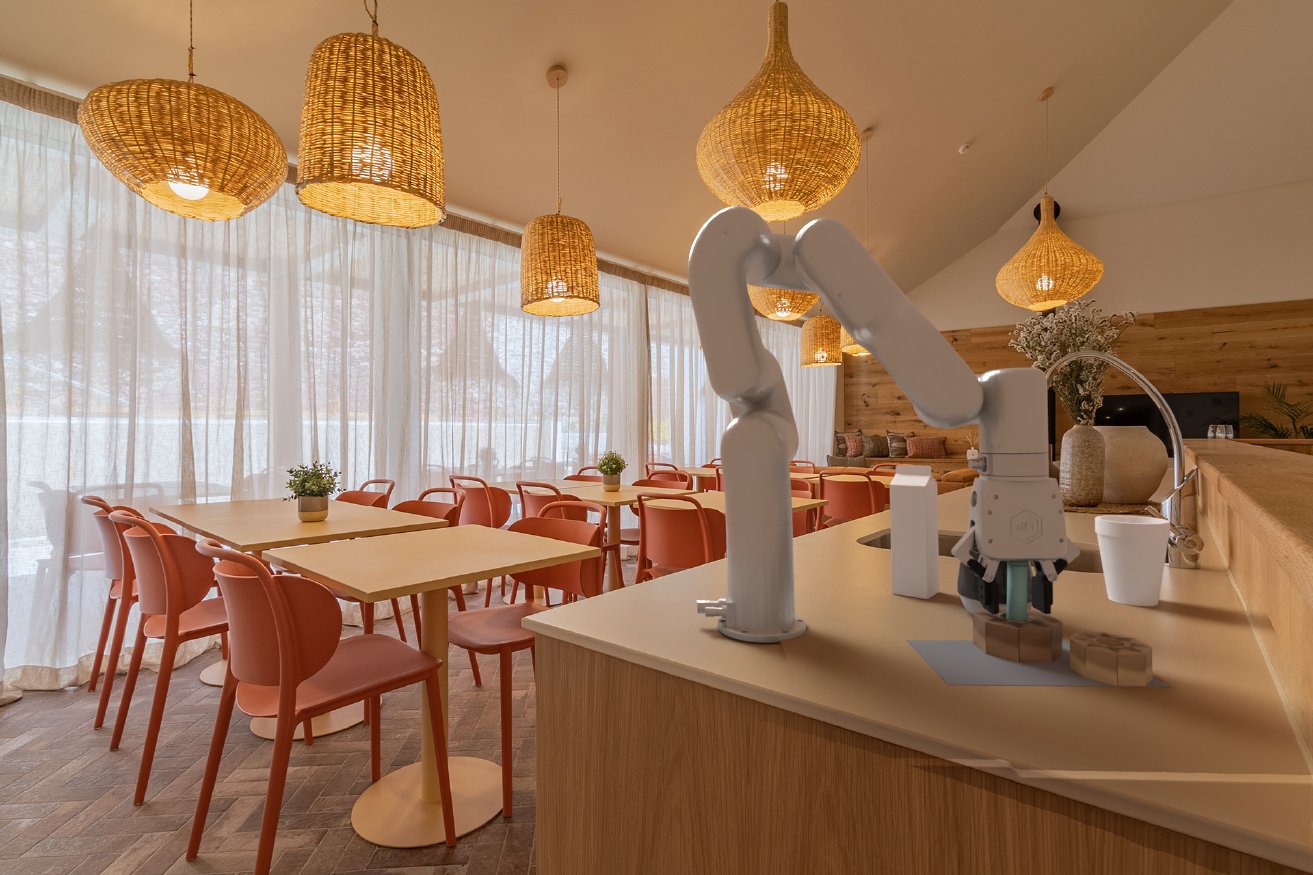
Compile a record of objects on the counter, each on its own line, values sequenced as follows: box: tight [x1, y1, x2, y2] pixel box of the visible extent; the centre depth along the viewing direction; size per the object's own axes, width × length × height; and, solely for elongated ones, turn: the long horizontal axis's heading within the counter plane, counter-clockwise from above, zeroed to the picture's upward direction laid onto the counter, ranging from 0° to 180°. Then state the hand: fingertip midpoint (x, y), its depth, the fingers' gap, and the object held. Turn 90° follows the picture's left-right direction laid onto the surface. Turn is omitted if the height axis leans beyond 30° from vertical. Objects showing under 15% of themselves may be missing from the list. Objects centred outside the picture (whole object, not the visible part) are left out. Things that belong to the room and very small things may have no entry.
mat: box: [906, 639, 1172, 688], centre depth 73 cm, size 23×14×1 cm, turn 85°
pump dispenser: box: [956, 550, 1034, 616], centre depth 90 cm, size 10×10×15 cm
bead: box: [972, 607, 1063, 663], centre depth 77 cm, size 9×9×4 cm
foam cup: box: [1094, 514, 1171, 607], centre depth 97 cm, size 10×9×13 cm
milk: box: [889, 464, 940, 600], centre depth 105 cm, size 6×6×22 cm
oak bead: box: [1069, 631, 1154, 687], centre depth 69 cm, size 7×7×4 cm
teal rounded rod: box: [1007, 561, 1028, 622], centre depth 77 cm, size 2×2×12 cm
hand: (1015, 609), depth 77 cm, fingers open, 5 cm apart
